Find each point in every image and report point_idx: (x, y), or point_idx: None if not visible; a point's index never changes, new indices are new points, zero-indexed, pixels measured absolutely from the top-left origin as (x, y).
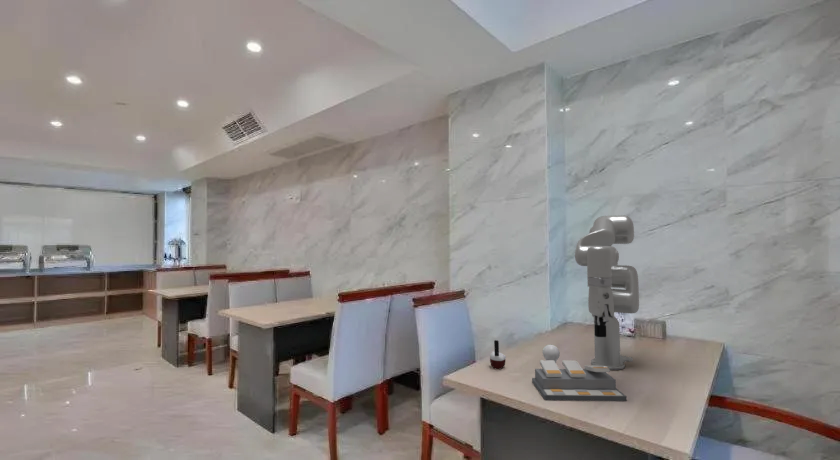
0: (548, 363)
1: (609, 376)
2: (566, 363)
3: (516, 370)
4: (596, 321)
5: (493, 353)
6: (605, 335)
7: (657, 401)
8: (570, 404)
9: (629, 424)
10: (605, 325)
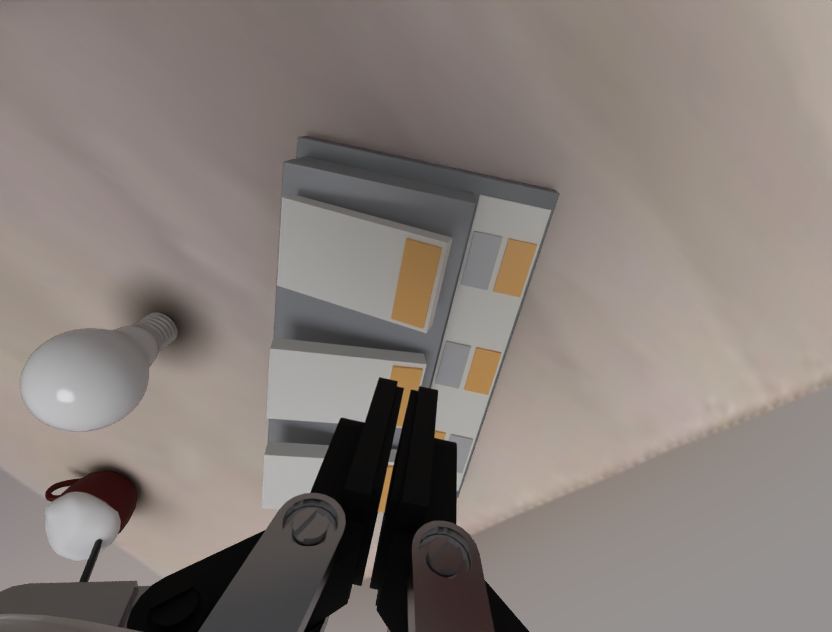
0: (297, 484)
1: (416, 203)
2: (303, 411)
3: (145, 440)
4: (323, 629)
5: (84, 556)
6: (436, 405)
7: (612, 4)
8: (514, 429)
9: (742, 339)
10: (458, 536)
